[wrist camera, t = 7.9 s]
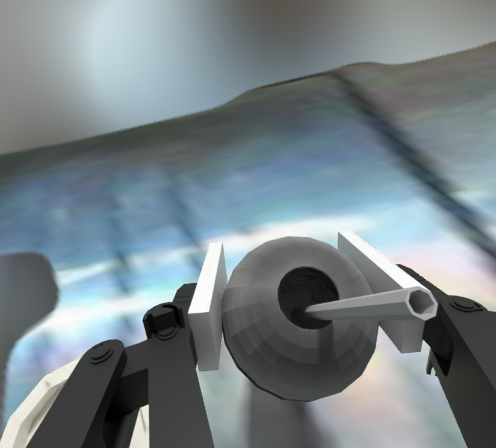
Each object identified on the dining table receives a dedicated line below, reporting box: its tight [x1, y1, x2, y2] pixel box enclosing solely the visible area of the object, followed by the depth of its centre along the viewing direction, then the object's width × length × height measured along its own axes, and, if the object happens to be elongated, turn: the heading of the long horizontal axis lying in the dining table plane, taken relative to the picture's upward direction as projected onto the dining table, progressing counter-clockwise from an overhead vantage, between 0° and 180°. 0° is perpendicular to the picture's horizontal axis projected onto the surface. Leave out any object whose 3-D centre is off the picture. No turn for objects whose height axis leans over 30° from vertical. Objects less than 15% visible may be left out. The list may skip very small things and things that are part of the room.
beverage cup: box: [221, 236, 438, 402], centre depth 13 cm, size 7×7×20 cm
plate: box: [0, 357, 149, 448], centre depth 19 cm, size 13×13×2 cm
